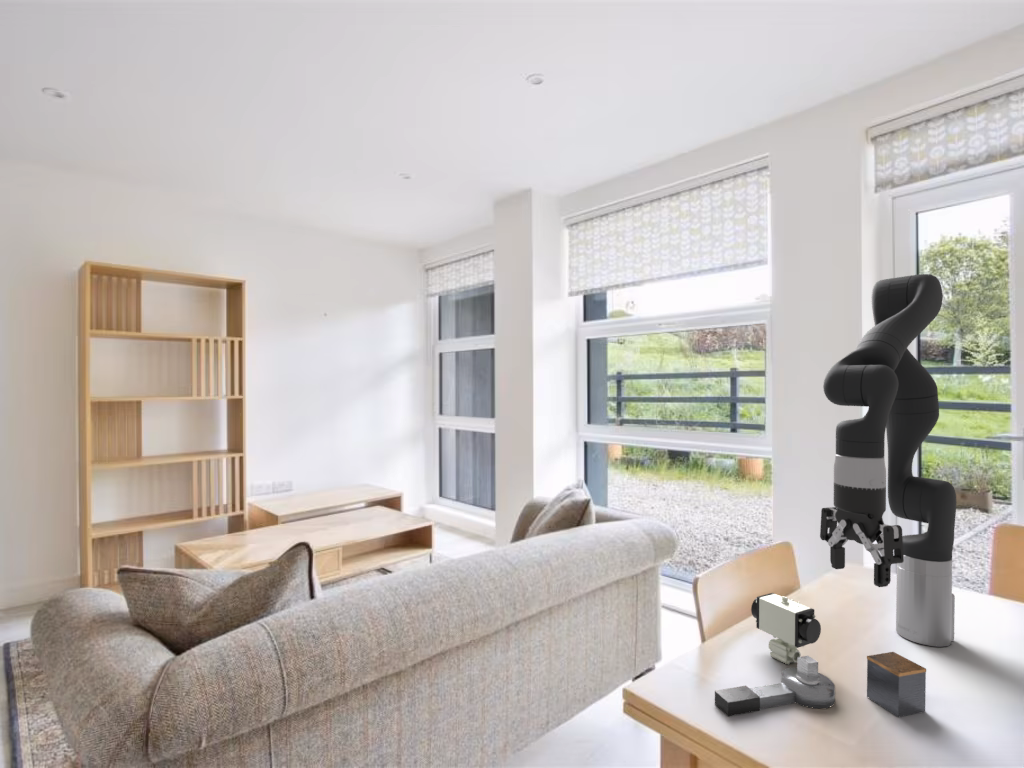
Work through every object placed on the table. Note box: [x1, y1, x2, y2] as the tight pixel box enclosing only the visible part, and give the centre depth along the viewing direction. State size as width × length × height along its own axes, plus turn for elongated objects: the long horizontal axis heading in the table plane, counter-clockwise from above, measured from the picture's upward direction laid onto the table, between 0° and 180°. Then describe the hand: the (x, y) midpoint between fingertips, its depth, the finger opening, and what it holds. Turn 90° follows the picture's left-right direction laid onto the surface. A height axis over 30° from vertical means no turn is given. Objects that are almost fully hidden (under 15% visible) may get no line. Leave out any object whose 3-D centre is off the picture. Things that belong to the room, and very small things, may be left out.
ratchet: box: [714, 655, 836, 717], centre depth 91 cm, size 21×8×6 cm, turn 105°
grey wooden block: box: [866, 651, 927, 718], centre depth 90 cm, size 6×6×7 cm
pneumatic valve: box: [750, 592, 822, 665], centre depth 104 cm, size 6×12×12 cm, turn 27°
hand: (858, 576), depth 93 cm, fingers open, 8 cm apart
